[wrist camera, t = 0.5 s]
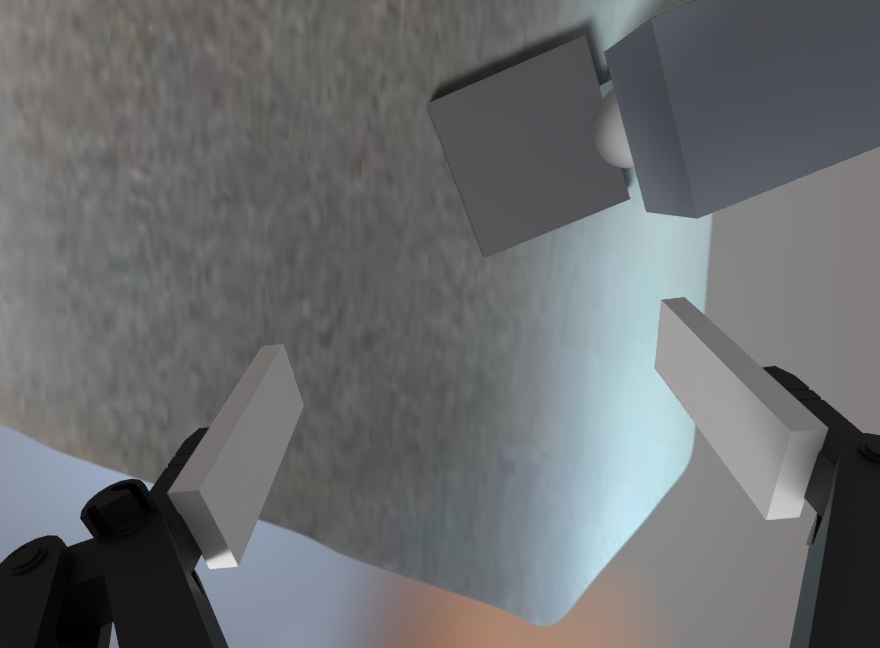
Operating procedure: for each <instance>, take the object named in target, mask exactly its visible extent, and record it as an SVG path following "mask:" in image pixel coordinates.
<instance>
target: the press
mask: <svg viewBox="0 0 880 648" xmlns="http://www.w3.org/2000/svg"><path fill="white" fill-rule="evenodd" d="M604 53H605V57H606V61H607V65H608V69H609V72H610V76H611V80H610V81H608V82H606V83H604V84H602V85H601V86H599V83H598V79H597V75H596V72H595V68H594V64H593V60H592V57H591V53H590V49H589V46H588V42H587V38H586V35H584V36H582V37H580V38H577V39H575V40H573V41H570V42H568V43H566V44H563V45H561V46H559V47H557V48H554V49H552V50H550V51H547V52H545V53H543V54H540V55H538V56H536V57H533V58H531V59H529V60H527V61H524V62H522V63H520V64H517V65H515V66H513V67H510V68H508V69H506V70H503V71H501V72H499V73H497V74H494V75H492V76H490V77H487V78H485V79H483V80H480V81H478V82H476V83H473V84H471V85H469V86H467V87H464V88H462V89H460V90H457V91H455V92H453V93H450V94H448V95H446V96H443V97H441V98H439V99H437V100H434V101H432V102H430V103H427V108H428V111H429V113H430V116H431V119H432V121H433V124H434V127H435V129H436V132H437V135H438V137H439V140H440V143H441V145H442V148H443V151H444V154H445V156H446V159H447V162H448V164H449V167H450V170H451V172H452V175H453V178H454V180H455V183H456V186H457V188H458V191H459V194H460V196H461V199H462V202H463V204H464V207H465V210H466V212H467V215H468V218H469V220H470V223H471V226H472V228H473V231H474V234H475V236H476V239H477V242H478V244H479V247H480V250H481V252H482V255H483V256H484V257H488V256H490V255H493V254H495V253H498V252H500V251H503V250H505V249H508V248H510V247H512V246H515V245H517V244H520V243H522V242H525V241H527V240H530V239H532V238H535V237H537V236H540V235H542V234H545V233H547V232H550V231H552V230H555V229H557V228H560V227H562V226H565V225H567V224H569V223H572V222H574V221H577V220H579V219H582V218H584V217H587V216H589V215H592V214H594V213H597V212H599V211H602V210H604V209H607V208H609V207H612V206H614V205H617V204H619V203H622V202H624V201H626V200H629V199H630V197H629V193H628V190H627V186H626V182H625V179H624V175H623V171H622V168H627V169H628V168H635V171H636V175H637V179H638V183H639V186H640V190H641V194H642V198H643V202H644V205H645V209H646V212H650V213H658V214H666V215H674V216H682V217H690V218H697V219H698V218H700V217H703V216H705V215H708V214H710V213H713V212H715V211H718V210H720V209H723V208H725V207H728V206H730V205H733V204H735V203H738V202H740V201H743V200H745V199H748V198H751V197H753V196H756V195H758V194H761V193H763V192H766V191H768V190H771V189H773V188H776V187H778V186H781V185H783V184H786V183H788V182H791V181H794V180H796V179H798V178H801V177H804V176H806V175H808V174H811V173H813V172H816V171H819V170H821V169H824V168H826V167H829V166H831V165H834V164H836V163H839V162H842V161H844V160H847V159H849V158H852V157H854V156H857V155H859V154H862V153H864V152H867V151H869V150H872V149H874V148H877V147H879V146H880V0H693V1H691V2H688V3H686V4H684V5H681V6H679V7H677V8H674V9H672V10H670V11H667V12H665V13H663V14H660V15H658V16H656V17H654V18H651V19H650V20H648V21H647V22H646V23H644V24H643V25H641V26H640V27H639V28H637V29H636V30H634V31H633V32H632V33H630V34H629V35H628V36H626V37H625V38H623V39H622V40H621V41H619V42H618V43H616V44H615V45H614V46H612V47H611V48H609V49H608V50H607V51H605V52H604Z"/></svg>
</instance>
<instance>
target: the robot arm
mask: <svg viewBox="0 0 880 648" xmlns="http://www.w3.org/2000/svg"><path fill="white" fill-rule="evenodd" d="M655 369H656V371H657V372H658V373H659V375H660V376H661V377H662V379H663V380H664V381H665V383H666V384H667V385H668V387H669V388H670V390H671V391H672V392H673V394H674V395H675V396H676V398H677V399H678V400H679V402H680V403H681V405H682V406H683V407H684V409H685V410H686V411H687V413H688V414H689V415H690V417H691V418H692V420H693V421H694V422H695V424H696V425H697V426H698V428H699V429H700V430H701V432H702V433H703V434H704V436H705V437H706V439H707V440H708V441H709V443H710V444H711V445H712V447H713V448H714V449H715V451H716V452H717V454H718V455H719V456H720V458H721V459H722V460H723V462H724V463H725V464H726V466H727V467H728V469H729V470H730V471H731V472H732V474H733V475H734V477H735V478H736V480H737V481H738V482H739V483H740V485H741V486H742V487H743V489H744V490H745V492H746V493H747V495H748V496H749V497H750V498H751V500H752V501H753V503H754V504H755V505H756V507H757V508H758V510H759V511H760V512H761V514H762V515H763V516H764V517H765V519H766V520H771V519H783V518H794V517H799V516H800V513H801V510H802V507H803V504H804V501H805V499H806V500H807V501H808V503H809V504H810V505H811V506H812V507H813V508H814V510H815V511H816V512H817V515H816V518H815V521H814V523H813V526H812V529H811V532H810V534H809V537H808V540H807V543H806V544H807V545H809V550H808V555H807V560H806V565H805V571H804V576H803V581H802V586H801V591H800V597H799V601H798V607H797V612H796V617H795V622H794V627H793V633H792V638H791V643H790V648H880V435H875V434H869V433H862V432H861V431H860V430H859V429H857V428H856V427H855V426H854V425H853V424H852V423H850V422H849V421H848V420H847V419H846V418H844V417H843V416H842V415H841V414H840V413H839V412H837V411H836V410H835V409H834V408H832V407H831V406H830V405H829V404H828V403H827V402H826V401H824V400H821V397H820V396H818V395H817V394H816V393H815V392H814V391H813V390H809V387H808V386H807V385H806V384H804V383H803V382H802V381H801V380H800V379H798V378H797V377H796V376H795V375H793V374H791V373H789V372H786V371H784V370H782V369H780V368H778V367H776V366H771V367H761V366H759V365H758V364H757V363H756V362H755V361H754V360H753V359H752V358H751V357H750V356H749V355H747V354H746V353H745V352H744V351H743V350H742V349H741V348H740V347H739V346H738V345H736V344H735V343H734V342H733V341H732V340H731V339H730V338H729V337H728V336H727V335H726V334H724V333H723V332H722V331H721V330H720V329H719V328H718V327H717V326H715V325H714V324H713V323H712V322H711V321H710V320H709V319H708V318H707V317H706V316H705V315H704V314H702V313H701V312H700V311H699V310H698V309H697V308H696V307H695V306H694V305H693V304H691V303H690V302H689V301H688V300H687V299H686V298H685V297H682V298H673V299H665V300H661V308H660V318H659V328H658V339H657V349H656V359H655ZM303 406H304V405H303V402H302V399H301V396H300V393H299V390H298V387H297V384H296V381H295V378H294V375H293V372H292V369H291V366H290V363H289V360H288V356H287V353H286V350H285V347H284V344H276V345H268V346H262V347H261V349H260V350H259V352H258V353H257V355H256V357H255V358H254V360H253V361H252V363H251V364H250V366H249V367H248V369H247V370H246V372H245V374H244V375H243V377H242V378H241V380H240V381H239V383H238V384H237V386H236V387H235V389H234V391H233V392H232V394H231V395H230V397H229V398H228V400H227V401H226V403H225V404H224V406H223V408H222V409H221V411H220V412H219V414H218V415H217V417H216V418H215V420H214V421H213V423H212V425H211V426H210V427H208V428H199V429H198V430H197V431H196V432H194V433H193V434H192V435H191V436H190V437H189V438H187V439H186V440H185V441H184V442H183V444H182V445H181V447H180V448H179V450H178V451H177V453H176V454H175V455H176V456H175V457H173V458H172V460H171V461H170V463H169V464H168V468H165V470H164V471H163V473H162V474H161V476H160V477H159V479H158V480H157V481H156V483H155V484H154V486H153V487H152V489H151V490H150V492H149V491H148V489H147V487H146V486H145V484H144V483H143V482H142V481H141V480H137V479H129V480H123V481H120V482H117V483H115V484H112V485H110V486H108V487H106V488H105V489H103V490H101V491H100V492H98V493H97V494H96V495H95V496H94V497H92V498H91V499H90V500H89V501H88V502H87V504H86V505H85V506H84V508H83V509H82V511H81V517H80V519H81V520H82V522H83V523H84V525H85V526H86V527H87V528H88V530H89V532H90V533H91V534H92V536H93V537H94V538H92V539H89V540H86V541H84V542H80V543H77V544H75V545H72V546H69V547H67V546H66V544H65V543H64V542H63V540H62V539H60V538H59V537H58V536H50V535H49V536H48V535H47V536H44V537H40V538H37V539H34V540H32V541H30V542H28V543H26V544H24V545H22V546H21V547H19V548H18V549H17V550H15V551H14V552H12V553H11V554H10V555H9V556H8V557H7V558H6V559H5V560H4V561H3V562H1V564H0V648H109V643H110V636H111V629H112V622H114V625H115V630H116V635H117V640H118V645H119V648H229V647H228V645H227V643H226V640H225V638H224V635H223V633H222V631H221V628H220V626H219V624H218V621H217V619H216V616H215V614H214V612H213V609H212V607H211V604H210V602H209V600H208V597H207V595H206V593H205V590H204V588H203V585H202V583H201V581H200V578H199V576H198V574H197V573H196V571H195V569H194V568H195V566H196V564H197V562H198V560H199V558H200V556H201V554H202V556H203V558H204V560H205V561H206V563H207V565H208V567H209V569H215V568H226V567H238V566H239V564H240V561H241V559H242V556H243V554H244V552H245V549H246V547H247V544H248V542H249V539H250V537H251V534H252V532H253V529H254V527H255V525H256V522H257V520H258V517H259V515H260V512H261V510H262V507H263V505H264V502H265V500H266V497H267V495H268V493H269V490H270V488H271V485H272V483H273V480H274V478H275V475H276V473H277V470H278V468H279V465H280V463H281V461H282V458H283V456H284V453H285V451H286V448H287V446H288V443H289V441H290V438H291V436H292V433H293V431H294V429H295V426H296V424H297V421H298V419H299V416H300V414H301V411H302V409H303Z"/></svg>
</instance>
